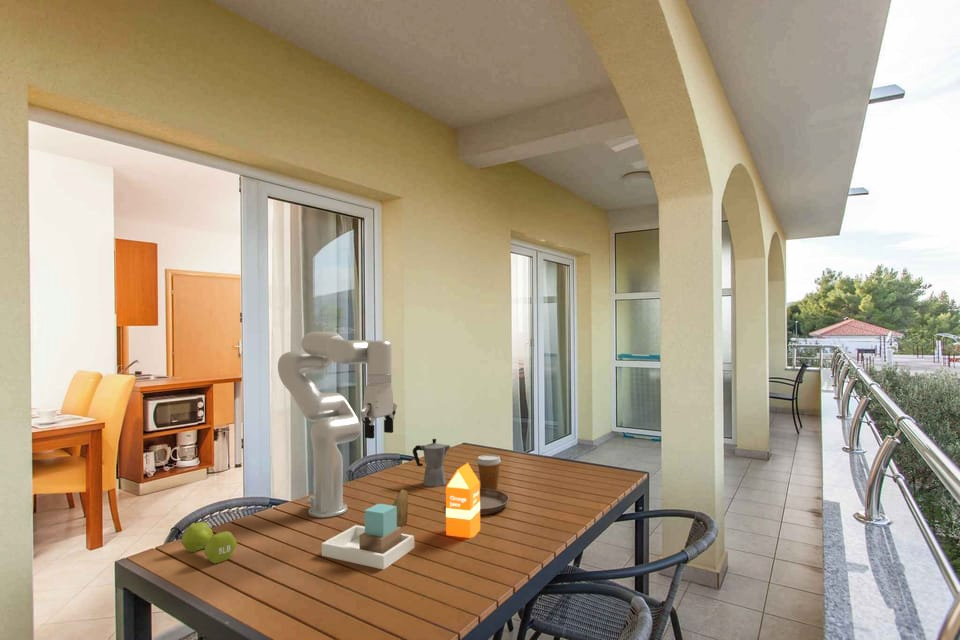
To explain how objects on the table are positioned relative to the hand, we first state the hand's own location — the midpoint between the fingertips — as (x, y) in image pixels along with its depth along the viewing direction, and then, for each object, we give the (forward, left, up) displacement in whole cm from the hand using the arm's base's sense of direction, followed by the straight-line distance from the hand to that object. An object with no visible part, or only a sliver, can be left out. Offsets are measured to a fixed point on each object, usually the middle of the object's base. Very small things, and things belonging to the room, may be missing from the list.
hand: (379, 435), depth 152 cm
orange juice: (+26, +6, -29) cm, 39 cm away
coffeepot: (-9, +47, -28) cm, 56 cm away
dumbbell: (-31, -34, -29) cm, 55 cm away
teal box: (+13, -17, -22) cm, 30 cm away
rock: (+3, +5, -29) cm, 29 cm away
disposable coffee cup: (+15, +50, -28) cm, 59 cm away
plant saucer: (+20, +30, -29) cm, 46 cm away
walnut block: (+13, -17, -28) cm, 35 cm away
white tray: (+9, -17, -28) cm, 34 cm away
